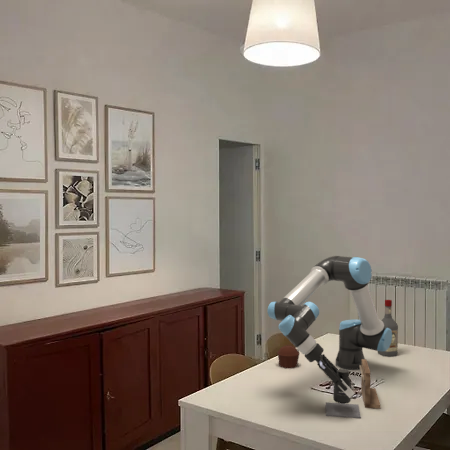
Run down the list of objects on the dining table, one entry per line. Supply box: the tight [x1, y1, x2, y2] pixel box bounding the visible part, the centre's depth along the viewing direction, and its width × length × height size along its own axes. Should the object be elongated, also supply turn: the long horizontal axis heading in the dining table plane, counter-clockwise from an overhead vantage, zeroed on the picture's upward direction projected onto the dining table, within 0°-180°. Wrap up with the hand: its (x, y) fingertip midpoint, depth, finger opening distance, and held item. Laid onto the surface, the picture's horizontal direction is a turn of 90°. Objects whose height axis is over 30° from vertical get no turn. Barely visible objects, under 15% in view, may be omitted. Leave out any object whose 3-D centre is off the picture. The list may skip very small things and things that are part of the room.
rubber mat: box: [325, 401, 362, 419], centre depth 211 cm, size 13×13×1 cm
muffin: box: [276, 345, 301, 369], centre depth 271 cm, size 12×11×10 cm
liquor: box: [377, 299, 399, 358], centre depth 293 cm, size 9×9×30 cm
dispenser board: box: [359, 358, 381, 409], centre depth 224 cm, size 7×20×14 cm, turn 170°
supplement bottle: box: [332, 368, 352, 404], centre depth 211 cm, size 7×7×12 cm
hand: (351, 392), depth 210 cm, fingers closed on supplement bottle, 7 cm apart
